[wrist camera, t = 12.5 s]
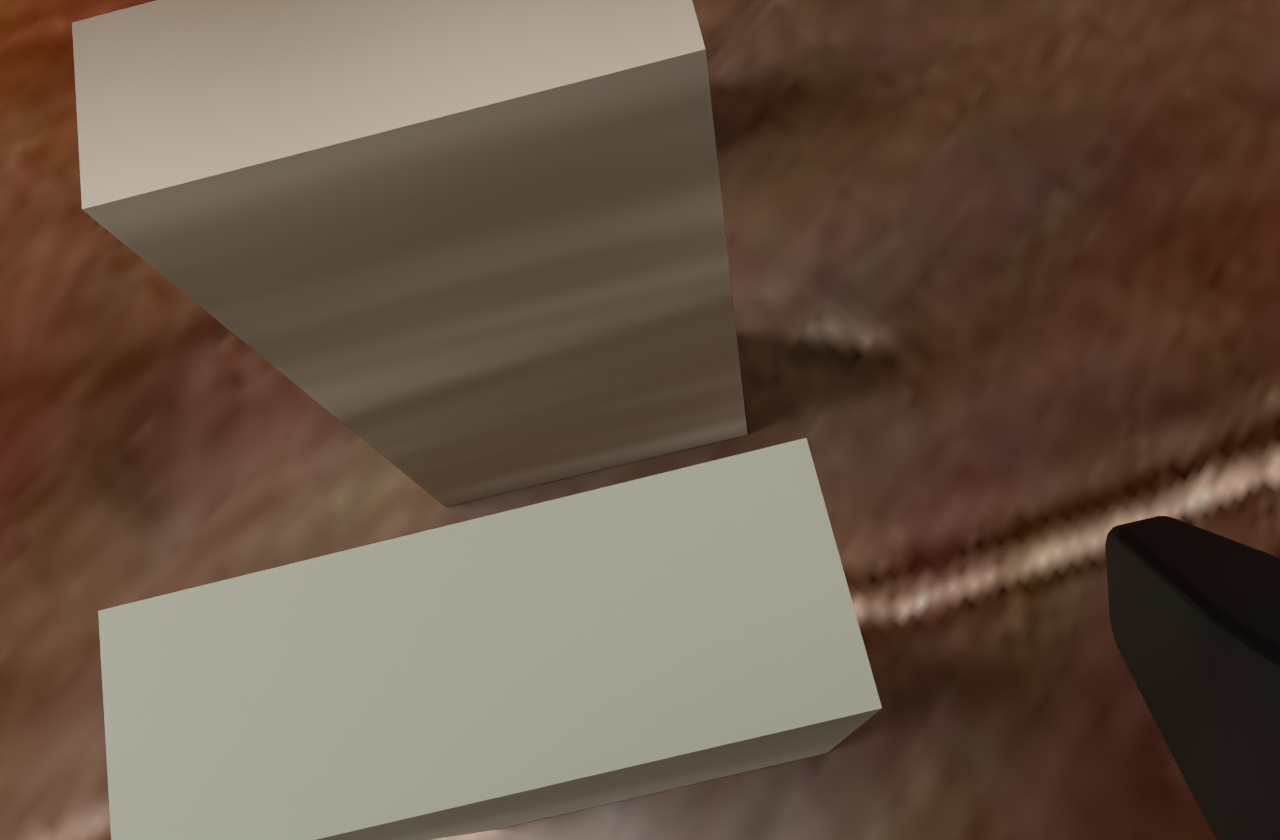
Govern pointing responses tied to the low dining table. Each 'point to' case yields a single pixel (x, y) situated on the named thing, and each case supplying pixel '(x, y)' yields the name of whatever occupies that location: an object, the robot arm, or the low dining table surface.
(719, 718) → the sage domino
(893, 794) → the low dining table surface
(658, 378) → the ivory domino
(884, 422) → the low dining table surface
